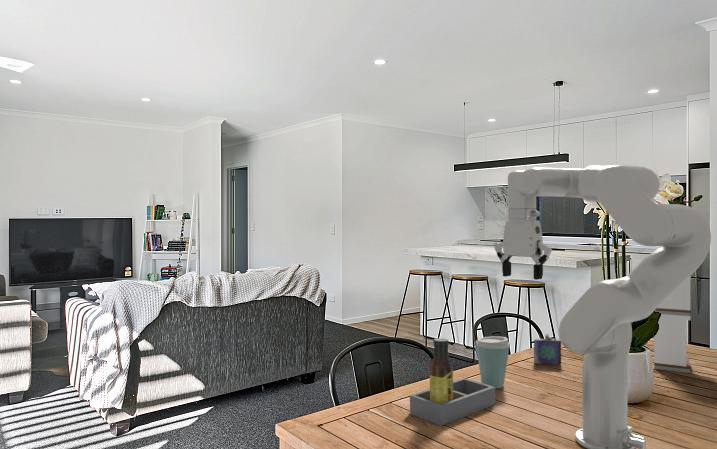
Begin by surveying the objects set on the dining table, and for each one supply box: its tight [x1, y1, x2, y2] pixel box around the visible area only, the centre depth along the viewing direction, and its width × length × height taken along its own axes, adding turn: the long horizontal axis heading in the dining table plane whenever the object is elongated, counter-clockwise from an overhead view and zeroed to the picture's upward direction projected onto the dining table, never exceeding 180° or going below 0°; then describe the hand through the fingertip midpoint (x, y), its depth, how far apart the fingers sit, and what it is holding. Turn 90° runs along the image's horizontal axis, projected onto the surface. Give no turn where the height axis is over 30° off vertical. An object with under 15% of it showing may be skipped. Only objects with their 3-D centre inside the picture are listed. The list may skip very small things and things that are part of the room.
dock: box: [409, 377, 496, 427], centre depth 143 cm, size 11×23×5 cm, turn 130°
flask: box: [533, 333, 562, 367], centre depth 186 cm, size 9×3×11 cm, turn 76°
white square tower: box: [653, 275, 692, 374], centre depth 182 cm, size 11×11×35 cm
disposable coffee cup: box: [475, 335, 511, 389], centre depth 163 cm, size 11×11×15 cm
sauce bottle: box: [429, 337, 454, 405], centre depth 139 cm, size 6×6×20 cm
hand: (522, 277), depth 143 cm, fingers open, 9 cm apart
